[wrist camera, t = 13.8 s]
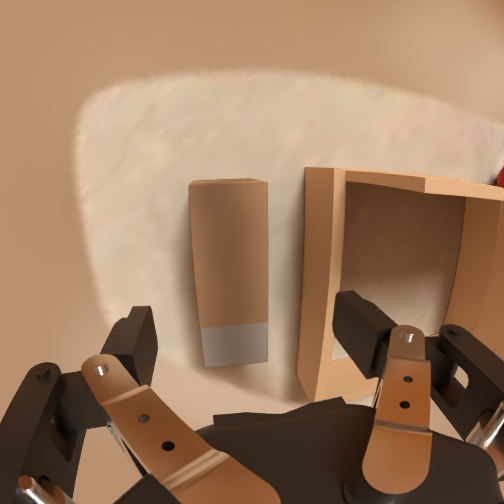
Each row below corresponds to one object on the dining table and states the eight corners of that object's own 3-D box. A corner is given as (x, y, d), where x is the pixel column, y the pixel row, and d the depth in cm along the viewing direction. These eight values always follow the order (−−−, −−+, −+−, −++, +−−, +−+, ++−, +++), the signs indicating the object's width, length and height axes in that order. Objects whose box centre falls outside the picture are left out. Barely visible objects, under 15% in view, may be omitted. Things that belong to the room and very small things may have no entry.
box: (249, 178, 20) (267, 182, 15) (252, 317, 24) (267, 361, 18) (192, 180, 20) (188, 185, 14) (203, 321, 23) (205, 367, 17)
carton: (470, 181, 24) (561, 201, 12) (443, 336, 29) (506, 388, 18) (305, 167, 21) (410, 173, 9) (296, 373, 26) (343, 472, 15)
